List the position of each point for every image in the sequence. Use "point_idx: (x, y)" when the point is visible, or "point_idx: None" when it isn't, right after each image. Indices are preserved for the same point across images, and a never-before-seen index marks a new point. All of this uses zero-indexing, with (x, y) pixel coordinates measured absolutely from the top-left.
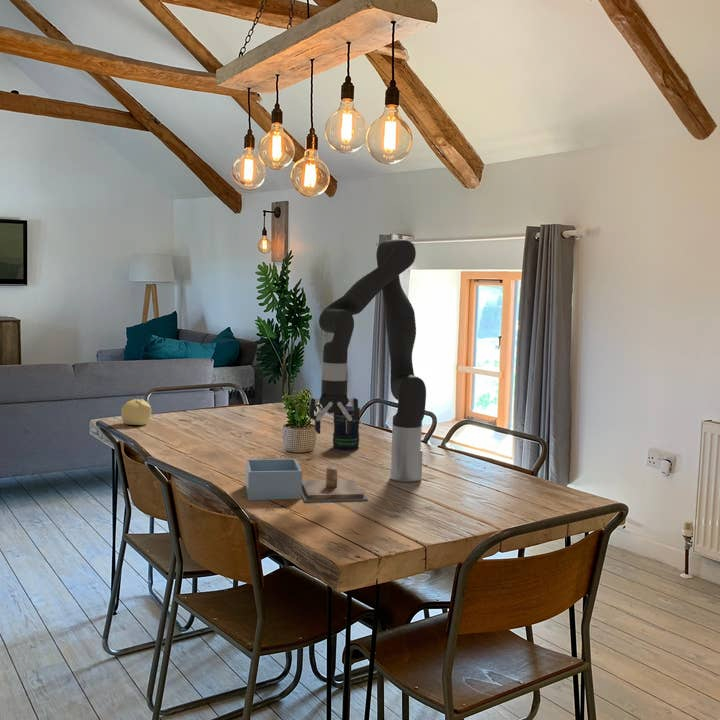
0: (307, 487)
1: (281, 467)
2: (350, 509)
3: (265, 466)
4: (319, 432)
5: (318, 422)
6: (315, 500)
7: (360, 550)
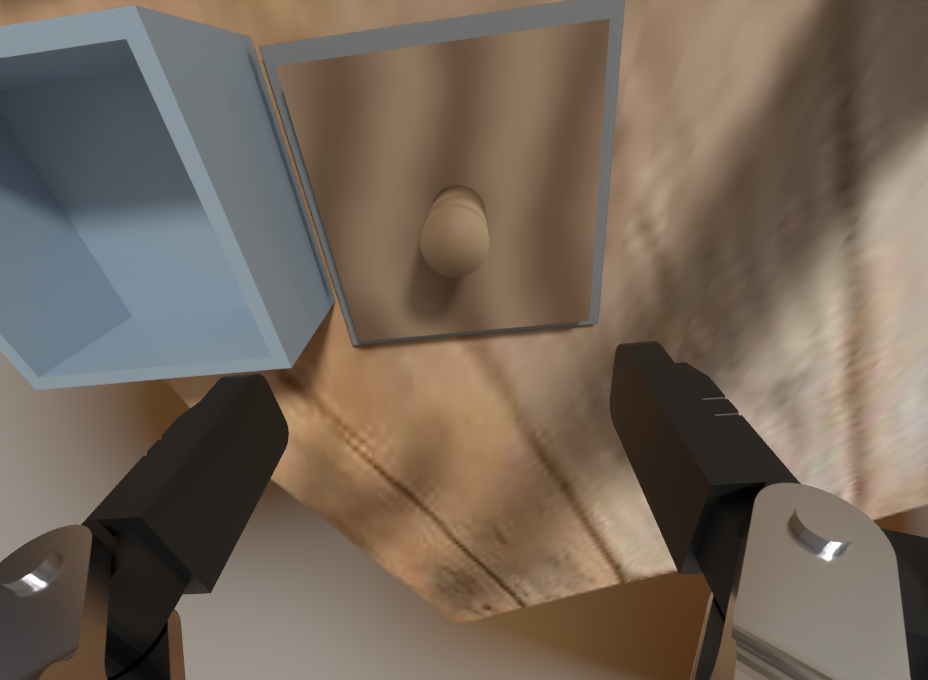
0: (339, 226)
1: (87, 58)
2: (512, 405)
3: None
4: (276, 451)
5: (187, 575)
6: (393, 341)
7: (495, 593)
